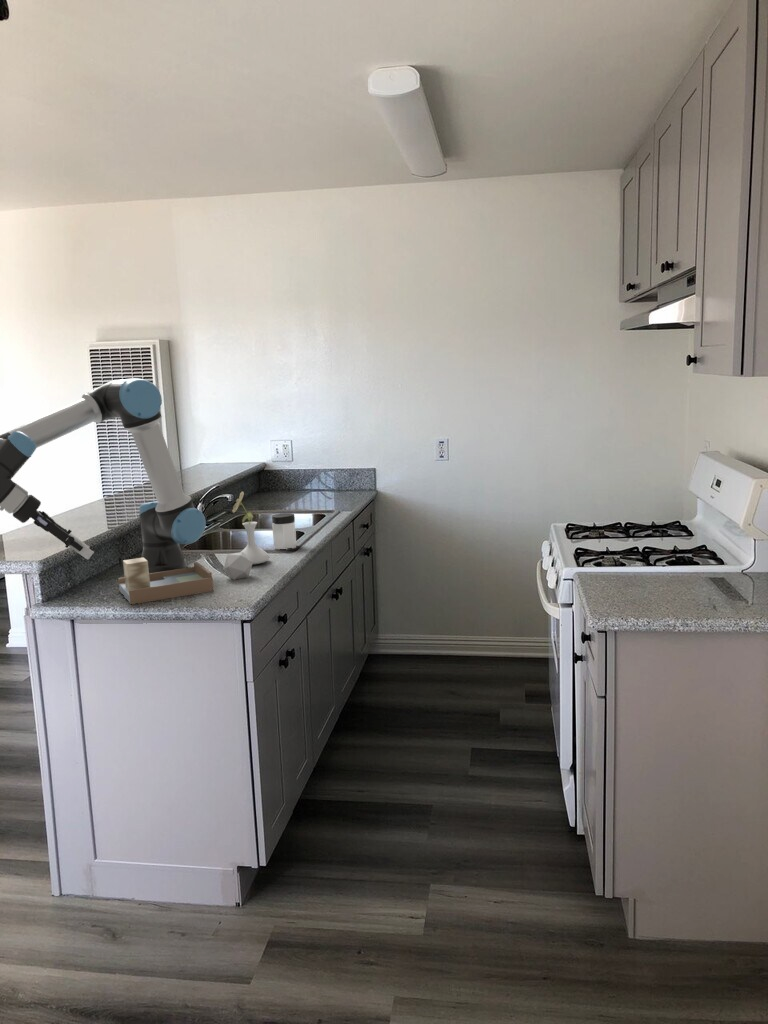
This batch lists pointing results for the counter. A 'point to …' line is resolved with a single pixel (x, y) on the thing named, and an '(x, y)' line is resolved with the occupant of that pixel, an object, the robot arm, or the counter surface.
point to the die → (237, 565)
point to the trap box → (171, 584)
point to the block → (136, 573)
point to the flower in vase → (251, 537)
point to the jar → (284, 530)
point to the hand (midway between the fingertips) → (88, 553)
